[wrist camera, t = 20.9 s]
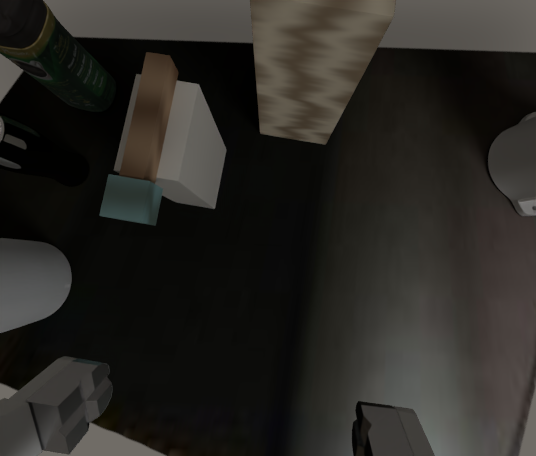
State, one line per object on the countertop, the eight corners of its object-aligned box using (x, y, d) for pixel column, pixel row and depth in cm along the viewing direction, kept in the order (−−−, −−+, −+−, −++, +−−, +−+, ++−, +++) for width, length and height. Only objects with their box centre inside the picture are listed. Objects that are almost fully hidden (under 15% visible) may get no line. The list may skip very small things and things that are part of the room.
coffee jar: (123, 79, 47) (28, -33, 28) (110, 118, 46) (5, 30, 28) (74, 67, 47) (-52, -52, 29) (60, 106, 46) (-78, 10, 28)
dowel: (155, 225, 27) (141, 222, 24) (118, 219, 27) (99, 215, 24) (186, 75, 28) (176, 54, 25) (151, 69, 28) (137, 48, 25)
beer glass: (72, 144, 46) (-24, 92, 31) (100, 167, 45) (17, 127, 30) (45, 172, 45) (-65, 134, 30) (73, 197, 45) (-25, 170, 30)
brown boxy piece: (332, 97, 46) (435, -145, 18) (325, 144, 46) (419, -32, 17) (268, 87, 47) (268, -169, 18) (260, 133, 46) (245, -59, 17)
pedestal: (226, 149, 46) (198, 84, 28) (214, 208, 45) (178, 181, 27) (188, 143, 46) (136, 73, 28) (176, 202, 45) (113, 170, 27)
